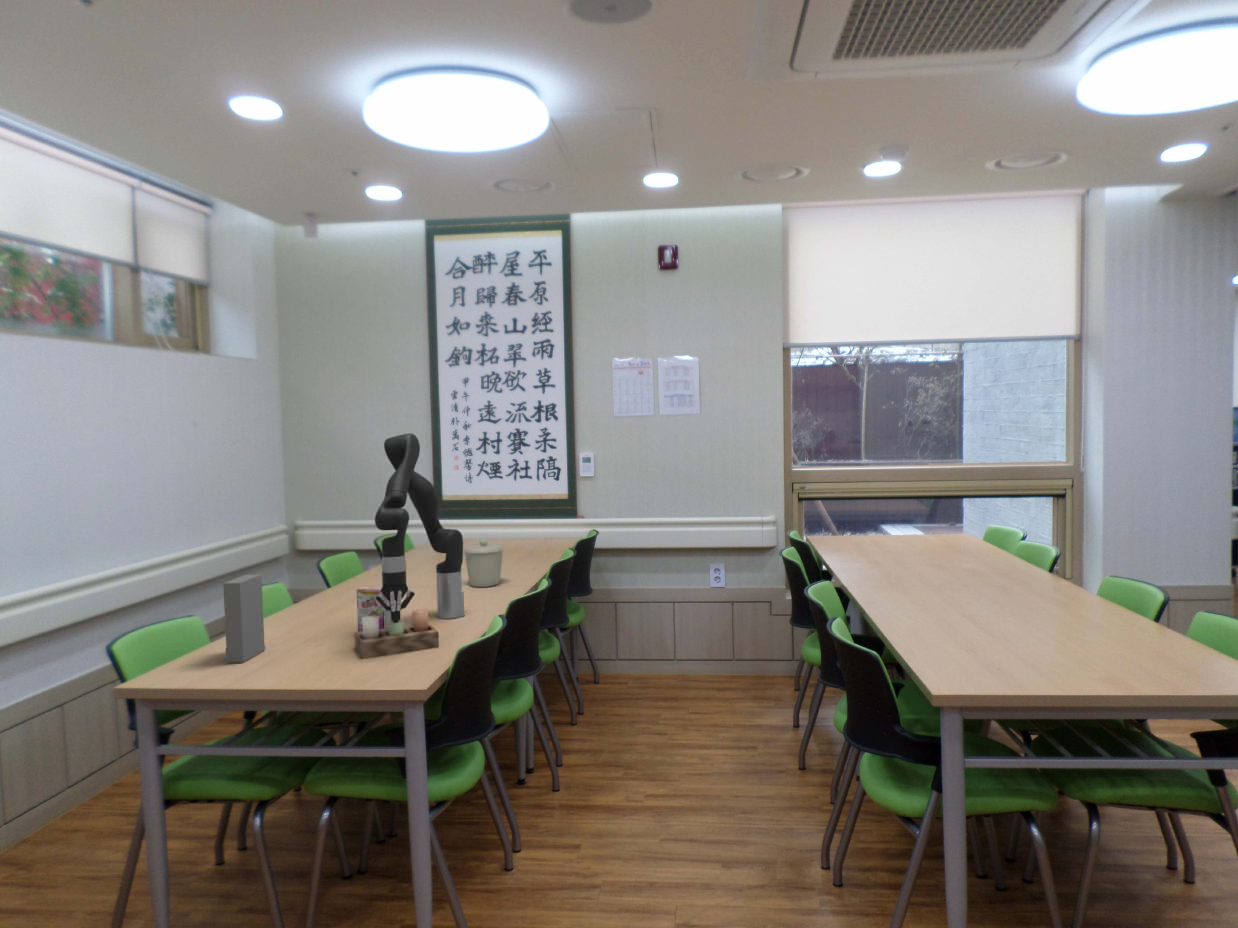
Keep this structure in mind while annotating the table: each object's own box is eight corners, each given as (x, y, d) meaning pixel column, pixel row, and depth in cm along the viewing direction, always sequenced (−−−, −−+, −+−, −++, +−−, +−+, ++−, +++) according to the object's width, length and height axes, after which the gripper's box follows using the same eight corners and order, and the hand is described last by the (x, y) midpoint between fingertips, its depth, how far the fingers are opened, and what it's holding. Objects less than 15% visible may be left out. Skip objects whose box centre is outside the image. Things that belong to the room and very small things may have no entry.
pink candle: (426, 629, 260) (425, 608, 260) (430, 632, 256) (429, 611, 255) (411, 631, 258) (410, 610, 257) (415, 635, 253) (414, 613, 253)
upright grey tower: (246, 650, 253) (243, 574, 252) (265, 650, 253) (261, 574, 252) (224, 663, 240) (220, 583, 238) (243, 663, 239) (239, 583, 238)
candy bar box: (357, 635, 269) (355, 588, 268) (366, 632, 274) (364, 586, 273) (384, 637, 265) (382, 590, 264) (393, 634, 270) (391, 587, 269)
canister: (458, 589, 344) (456, 541, 343) (472, 580, 362) (471, 536, 361) (497, 589, 341) (496, 542, 340) (509, 581, 359) (508, 536, 358)
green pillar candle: (402, 640, 256) (401, 619, 256) (406, 644, 252) (405, 622, 252) (387, 643, 254) (386, 621, 254) (390, 646, 250) (389, 624, 249)
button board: (427, 637, 265) (427, 622, 265) (438, 646, 253) (438, 631, 252) (354, 647, 254) (354, 632, 253) (362, 658, 241) (362, 642, 241)
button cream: (377, 636, 253) (376, 614, 252) (380, 640, 248) (379, 617, 248) (361, 638, 250) (360, 616, 250) (364, 642, 246) (363, 620, 245)
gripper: (411, 565, 258) (413, 617, 259) (370, 569, 252) (372, 622, 253) (417, 569, 252) (418, 621, 253) (375, 573, 246) (377, 627, 246)
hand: (395, 622), depth 253 cm, fingers closed
